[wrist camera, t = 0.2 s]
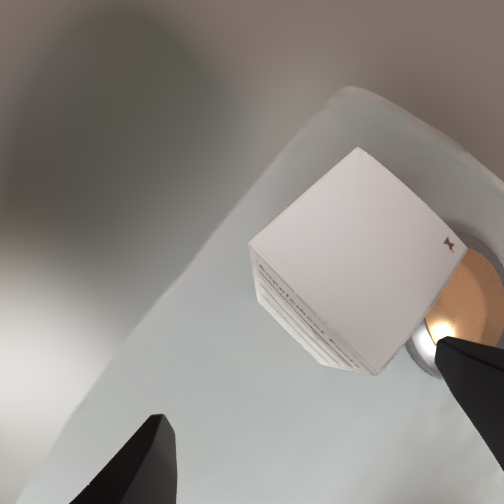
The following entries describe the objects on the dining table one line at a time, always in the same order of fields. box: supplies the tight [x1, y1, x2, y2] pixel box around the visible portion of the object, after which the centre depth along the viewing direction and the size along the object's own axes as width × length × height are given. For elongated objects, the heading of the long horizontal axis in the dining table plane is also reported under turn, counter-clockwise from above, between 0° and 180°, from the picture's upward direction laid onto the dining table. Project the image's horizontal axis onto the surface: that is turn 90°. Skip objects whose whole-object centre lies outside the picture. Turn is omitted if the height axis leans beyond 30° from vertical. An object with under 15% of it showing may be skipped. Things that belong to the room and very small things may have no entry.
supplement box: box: [248, 147, 468, 376], centre depth 17 cm, size 7×7×13 cm
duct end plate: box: [405, 233, 504, 380], centre depth 21 cm, size 13×13×2 cm
